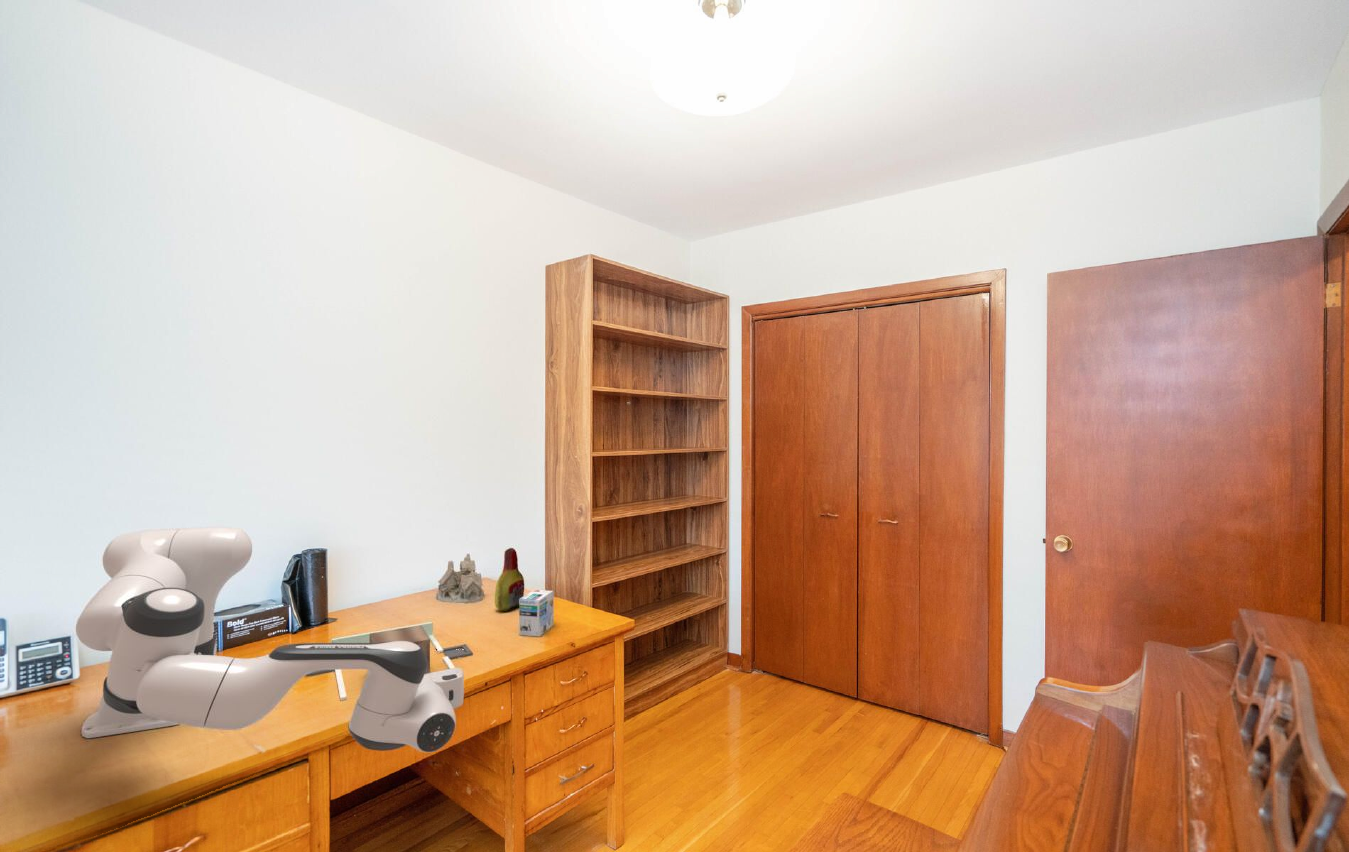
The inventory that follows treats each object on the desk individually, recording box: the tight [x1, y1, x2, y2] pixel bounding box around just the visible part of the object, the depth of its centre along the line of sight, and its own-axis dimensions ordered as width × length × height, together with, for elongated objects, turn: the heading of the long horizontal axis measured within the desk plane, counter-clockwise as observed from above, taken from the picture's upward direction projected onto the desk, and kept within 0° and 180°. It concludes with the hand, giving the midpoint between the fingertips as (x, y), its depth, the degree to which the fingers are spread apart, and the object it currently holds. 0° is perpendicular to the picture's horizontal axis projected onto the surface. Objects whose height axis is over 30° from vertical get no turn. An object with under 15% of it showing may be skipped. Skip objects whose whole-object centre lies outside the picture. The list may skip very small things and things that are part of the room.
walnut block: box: [370, 625, 431, 674], centre depth 146 cm, size 12×12×10 cm
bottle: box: [494, 547, 525, 612], centre depth 199 cm, size 12×6×20 cm, turn 150°
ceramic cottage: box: [435, 553, 485, 604], centre depth 211 cm, size 16×16×15 cm
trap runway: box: [305, 621, 474, 701], centre depth 153 cm, size 38×32×4 cm
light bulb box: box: [518, 589, 555, 638], centre depth 178 cm, size 11×7×11 cm, turn 168°
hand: (408, 676), depth 135 cm, fingers closed
